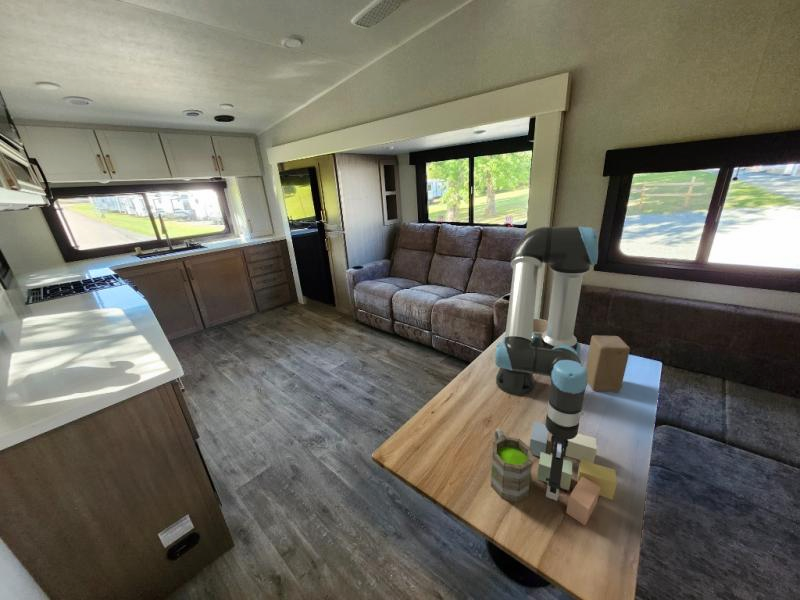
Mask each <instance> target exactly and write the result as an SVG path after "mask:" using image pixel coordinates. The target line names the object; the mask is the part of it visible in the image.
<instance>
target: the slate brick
mask: <svg viewBox="0 0 800 600" xmlns="http://www.w3.org/2000/svg"><path fill="white" fill-rule="evenodd" d="M545 424H546V423H545ZM545 424H544V423H541V422H538V421H533V424H532V429H531V434H530V441H529V447H530V448H531V449H532V456H536V457H539V458H540V453H541V452H543V453H546V449H547V445H548V444H547V442H548V435H549V431H548V430H547V428H546V425H545Z"/></svg>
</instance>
